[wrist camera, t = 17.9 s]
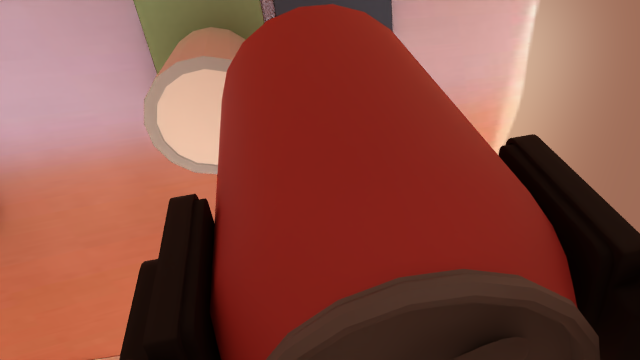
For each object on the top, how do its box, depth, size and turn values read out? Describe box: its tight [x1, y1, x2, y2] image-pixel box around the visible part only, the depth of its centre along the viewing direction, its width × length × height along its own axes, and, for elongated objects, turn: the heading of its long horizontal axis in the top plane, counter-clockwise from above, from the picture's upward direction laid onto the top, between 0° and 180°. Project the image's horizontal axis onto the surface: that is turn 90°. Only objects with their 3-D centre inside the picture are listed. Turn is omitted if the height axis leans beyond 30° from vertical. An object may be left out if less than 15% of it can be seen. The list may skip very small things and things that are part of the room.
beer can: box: [210, 4, 600, 360], centre depth 12 cm, size 7×7×12 cm
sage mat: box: [133, 0, 264, 75], centre depth 32 cm, size 12×7×1 cm, turn 7°
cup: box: [144, 27, 245, 174], centre depth 29 cm, size 7×7×7 cm
